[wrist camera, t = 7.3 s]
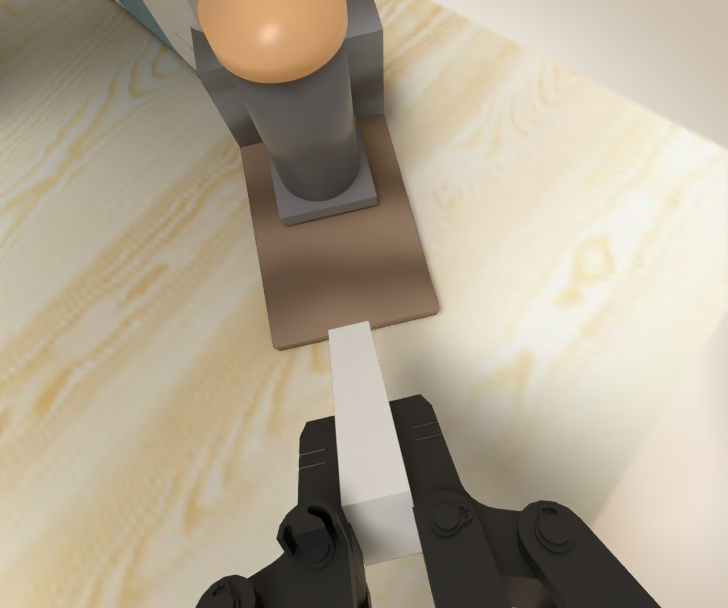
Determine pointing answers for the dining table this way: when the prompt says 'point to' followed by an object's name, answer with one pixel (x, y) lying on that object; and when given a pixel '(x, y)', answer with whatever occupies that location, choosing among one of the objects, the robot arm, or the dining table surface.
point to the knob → (296, 98)
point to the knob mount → (335, 232)
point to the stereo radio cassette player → (168, 22)
